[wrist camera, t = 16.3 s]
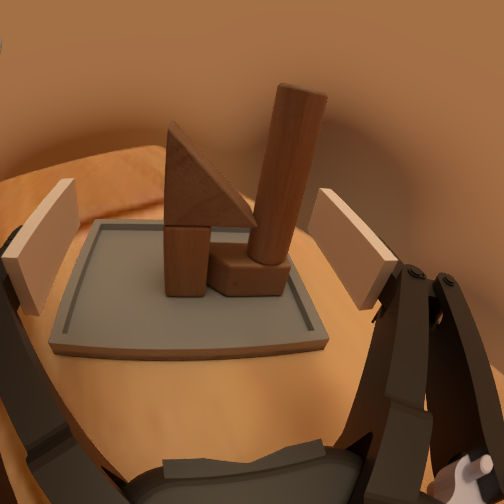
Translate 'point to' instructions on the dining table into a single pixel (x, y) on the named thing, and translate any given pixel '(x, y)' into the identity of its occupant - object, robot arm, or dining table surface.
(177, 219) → the wooden block
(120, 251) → the slate tray
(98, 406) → the dining table surface
